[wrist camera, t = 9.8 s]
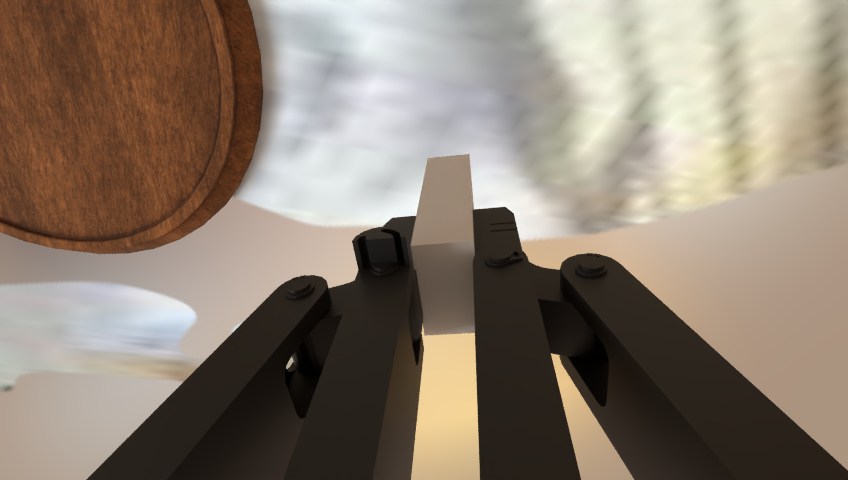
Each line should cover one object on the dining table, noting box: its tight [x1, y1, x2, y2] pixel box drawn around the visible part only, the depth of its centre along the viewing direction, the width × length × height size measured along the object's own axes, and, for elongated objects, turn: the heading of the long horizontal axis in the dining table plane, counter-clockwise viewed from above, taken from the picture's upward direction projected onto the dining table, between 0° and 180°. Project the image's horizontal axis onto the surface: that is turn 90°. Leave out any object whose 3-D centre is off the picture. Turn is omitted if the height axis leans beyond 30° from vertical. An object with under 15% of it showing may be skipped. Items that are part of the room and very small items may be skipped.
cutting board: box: [0, 0, 263, 254], centre depth 32 cm, size 32×32×3 cm
